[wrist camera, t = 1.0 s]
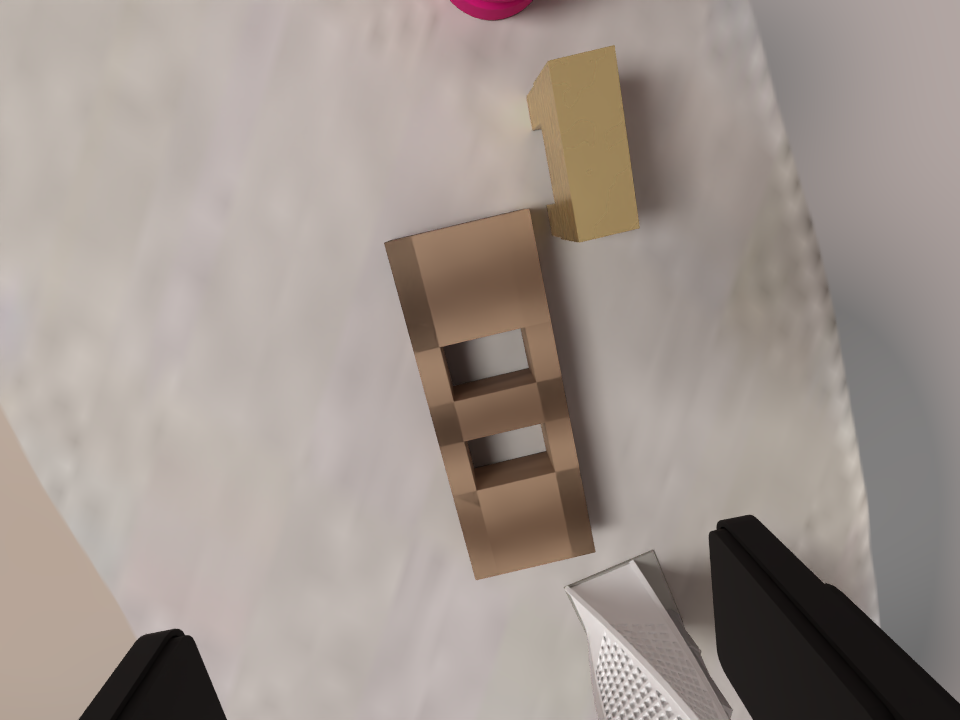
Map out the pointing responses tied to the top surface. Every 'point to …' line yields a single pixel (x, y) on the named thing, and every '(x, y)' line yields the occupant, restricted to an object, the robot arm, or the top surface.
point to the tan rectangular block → (585, 145)
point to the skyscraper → (642, 647)
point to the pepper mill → (491, 8)
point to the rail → (494, 389)
